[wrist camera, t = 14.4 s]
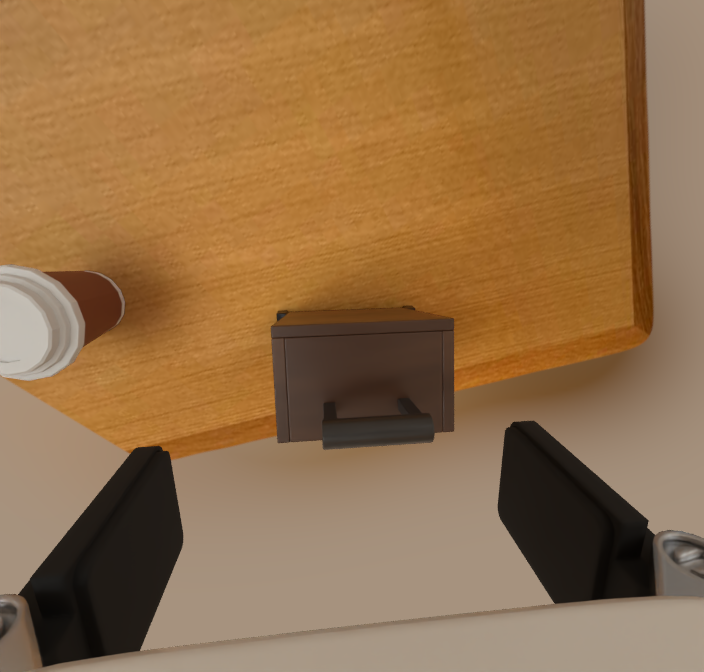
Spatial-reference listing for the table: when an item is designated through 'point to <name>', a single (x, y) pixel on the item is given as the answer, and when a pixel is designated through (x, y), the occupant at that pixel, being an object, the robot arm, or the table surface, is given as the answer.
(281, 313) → the dark brown rod
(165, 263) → the table surface
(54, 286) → the coffee cup
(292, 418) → the shelf
